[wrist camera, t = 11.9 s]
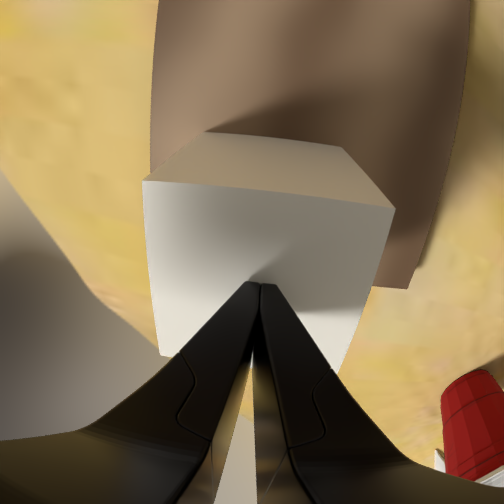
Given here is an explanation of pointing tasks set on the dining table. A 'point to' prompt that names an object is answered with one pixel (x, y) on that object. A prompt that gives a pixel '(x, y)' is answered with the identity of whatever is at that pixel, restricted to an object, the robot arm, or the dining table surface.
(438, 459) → the white tapered spike
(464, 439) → the plastic cup
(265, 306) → the robot arm
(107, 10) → the dining table surface
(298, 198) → the off-white cube
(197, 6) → the board
